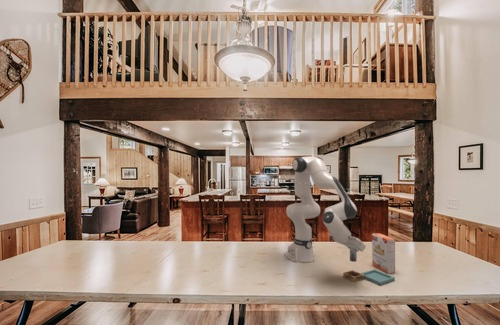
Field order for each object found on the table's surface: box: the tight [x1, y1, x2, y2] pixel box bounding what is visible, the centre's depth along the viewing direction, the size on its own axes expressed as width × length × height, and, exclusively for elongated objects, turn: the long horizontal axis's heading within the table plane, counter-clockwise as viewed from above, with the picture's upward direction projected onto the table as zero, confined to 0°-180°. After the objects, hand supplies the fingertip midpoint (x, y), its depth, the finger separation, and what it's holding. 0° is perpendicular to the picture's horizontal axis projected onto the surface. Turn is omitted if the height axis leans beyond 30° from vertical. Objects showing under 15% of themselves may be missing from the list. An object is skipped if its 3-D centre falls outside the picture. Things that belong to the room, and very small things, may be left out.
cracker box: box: [371, 232, 396, 275], centre depth 162 cm, size 14×6×21 cm, turn 11°
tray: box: [360, 269, 396, 287], centre depth 148 cm, size 13×13×2 cm
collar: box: [342, 269, 365, 283], centre depth 149 cm, size 8×8×2 cm
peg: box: [349, 247, 357, 263], centre depth 150 cm, size 4×4×12 cm
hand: (354, 249), depth 150 cm, fingers closed on peg, 4 cm apart
